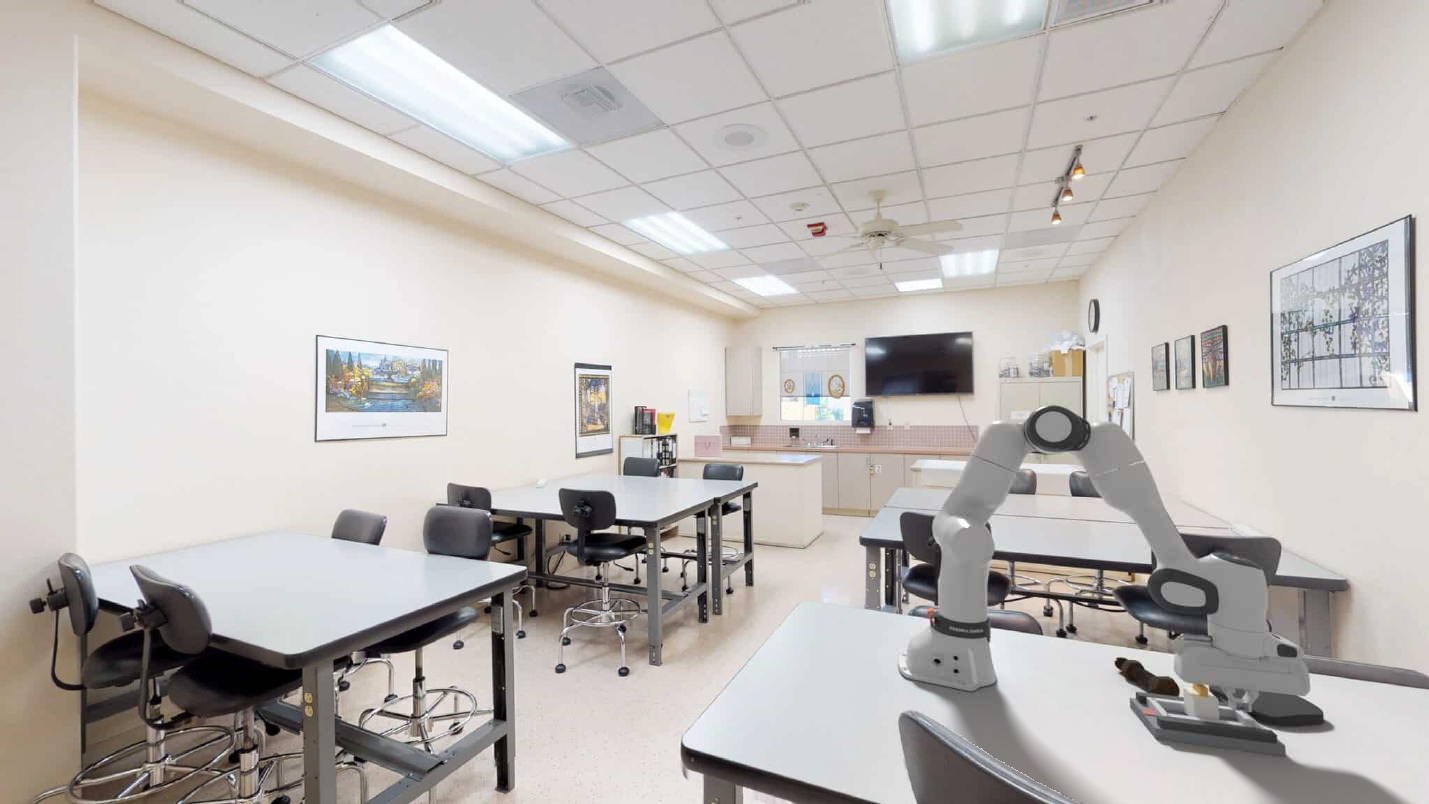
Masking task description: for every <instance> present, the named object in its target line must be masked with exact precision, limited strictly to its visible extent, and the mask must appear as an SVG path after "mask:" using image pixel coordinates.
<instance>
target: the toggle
mask: <svg viewBox="0 0 1429 804" xmlns="http://www.w3.org/2000/svg"><path fill="white" fill-rule="evenodd" d="M1182 692H1183V697H1184V712H1185V713H1186V714H1187V715H1188V716H1192V717H1200V718H1207V719H1215V720H1219V700H1218V699H1217V698H1216V697H1215V696H1214V695H1213V694H1212V693H1211V692H1209V687H1206V686H1205V685H1203V684H1194V683H1192V687H1188V686H1187V687H1186V686H1183V691H1182Z"/></svg>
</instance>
